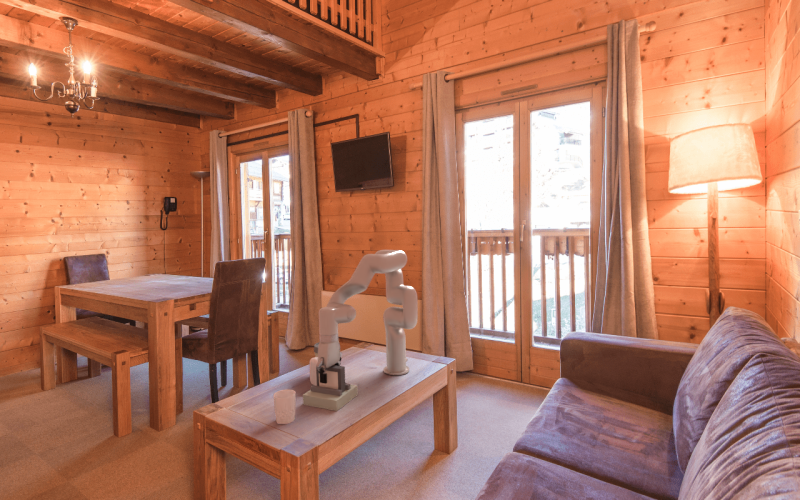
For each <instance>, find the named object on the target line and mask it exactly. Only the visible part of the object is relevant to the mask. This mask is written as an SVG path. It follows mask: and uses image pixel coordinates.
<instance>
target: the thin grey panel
mask: <svg viewBox="0 0 800 500" xmlns="http://www.w3.org/2000/svg"><path fill="white" fill-rule="evenodd" d="M324 366H326V365H324ZM345 368H346V367H345V366H343V365H340V366H337V365H332V366H330V367H329V368H327V371H326V373H327V383H326V384H325V383H320V374H319V373H318V371H317V368H316V377H317V386H321V387H327V388H333V389H339V390H342V393H343V392H344V391H346V390H345V383H346V369H345ZM323 370H324V368H323Z"/></svg>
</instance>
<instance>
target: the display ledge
mask: <svg viewBox="0 0 800 500" xmlns="http://www.w3.org/2000/svg"><path fill="white" fill-rule="evenodd" d="M358 389H359V388H358V385H357V384H351V383H347V382H345V390H346V391H344V392H343V393H342V390H339V389H333V388H327V387H321V386H315V385H313V384H311V386H310V390H308V391H305V393H303V394H302V405H303V406H309V407H313V408H314V407H315V408H319V409H325V410H330V411H334V412H335V411H336V412H338V411H339V410H340V409H342V408H343V407H344V406H345V405H346V404H348V403H349V402H351V400H353V399H354V398H355V397H357V396H358V395H359V393H358Z"/></svg>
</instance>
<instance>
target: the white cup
mask: <svg viewBox="0 0 800 500" xmlns="http://www.w3.org/2000/svg"><path fill="white" fill-rule="evenodd" d="M296 393H297V392H296V391H295V390H293V389H281V390H278V391H276V392H274V393H273V407H274V414H275V421H276V423H277V424H279V425H288V424H291V423H294V421H295V420H296V401H297V400H296V396H297V395H296Z"/></svg>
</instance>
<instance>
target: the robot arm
mask: <svg viewBox="0 0 800 500" xmlns="http://www.w3.org/2000/svg"><path fill="white" fill-rule="evenodd" d="M407 263H408V256H407V254H406V252H405V251H403V250H400V249H395V250H394V249H381V250H377V251H376V252H375V253H367V254H365V255H363V256H362V258H361V259H360V261H359V263H358V265H357V266H356V267H355V270H354V272H353V273H352V274H351V277H350V278H349V280H348V281H347V282H345V283H344V284H342V285H341V286H340V287H339V288H337V290H335V291H334V292H333V294H332V295H331V297H330V298H329V300H328V302H327V304H326V306H324V307H321V308H320V309H318V327H319V328H318V329H319V330H318V332H319V333H318V334H319V342H320V343H319V346H318V363H317V365H316V368H317V371H318V373H319V374H320V383H325V384H326V383H327V373H326V371H327V368H329V367H330V366H332V365H334V364H335V365H337V366H342V363H341V361H342V359H343V358H342V357H343V352H341V347H340V348H339V343H340V342H339V324H348V323H349V324H350V323H351V322H352V321H354V320H355V319H356V317H357V310H356V309H355V307H354V306H352V305H350V304H345V302H346V301H348V299H350V298H352V297H353V296H355V295H358V294H361V293H363V292H365V291H367V289H368V287H369V285H370V284H371V282H372V280H373V278H374V276H375V275H376V274H384V275H385V298H386V301H387V302H388V303H389V304H392V305H396V306H389V307H387V308H386V309H385V310H384V311H383V315H382V316H383V317H382V318H383V324H384V329H385V330H384V331H385V354H386V358H385V359H386V360H385V362H386V366H385V367H384V368H383V373H385V374H386V375H388V376H402V375H406V374H408V373H409V372H410V367H409V366H408V365H407V362H408V361H409V360H408V358H407V352H406V350H407V349H406V348H407V346H406V344H407V343H406V333H405V330H412V329H414V328H415V327H416V326H417V324H418V320H419V318H418V317H419V316H418V313H419V310H418V309H419V308H418V307H419V303H418V293H417V291H416V288H414V287H413V286H411V285H405V284H404V275H403V270H402V269H403V268H404V267H405V266H406V265H407ZM399 306H402V307H399ZM324 365H326V366H324ZM323 368H324V370H323Z"/></svg>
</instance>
